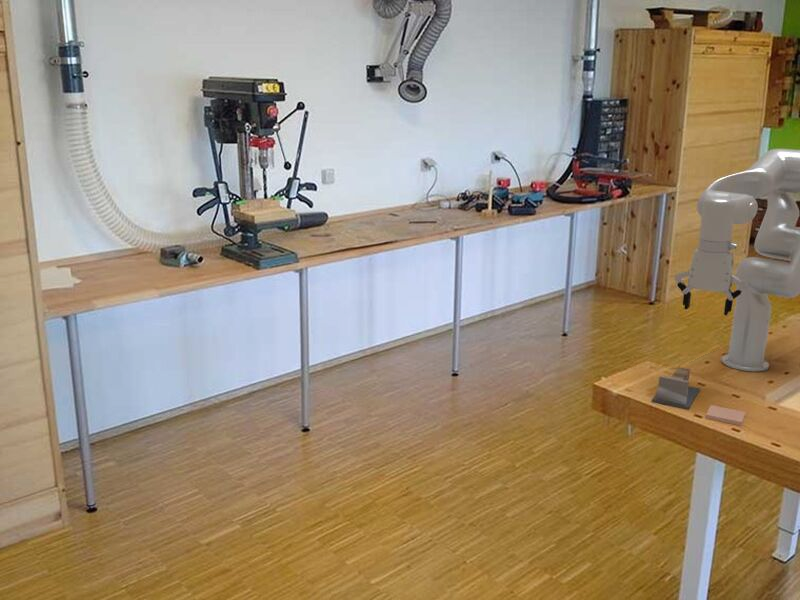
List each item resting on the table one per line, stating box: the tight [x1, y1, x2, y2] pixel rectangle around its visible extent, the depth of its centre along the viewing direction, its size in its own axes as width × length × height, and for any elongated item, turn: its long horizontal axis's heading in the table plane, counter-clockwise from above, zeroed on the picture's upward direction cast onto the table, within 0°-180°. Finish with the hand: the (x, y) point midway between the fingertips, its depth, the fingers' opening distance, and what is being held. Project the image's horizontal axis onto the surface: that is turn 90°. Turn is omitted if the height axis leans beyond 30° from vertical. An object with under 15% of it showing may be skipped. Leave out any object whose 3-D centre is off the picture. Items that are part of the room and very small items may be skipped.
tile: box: [705, 404, 746, 427], centre depth 190 cm, size 2×8×7 cm
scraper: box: [656, 366, 691, 405], centre depth 202 cm, size 13×7×6 cm, turn 150°
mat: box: [651, 385, 701, 410], centre depth 202 cm, size 15×9×1 cm, turn 150°
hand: (706, 310), depth 202 cm, fingers open, 9 cm apart
